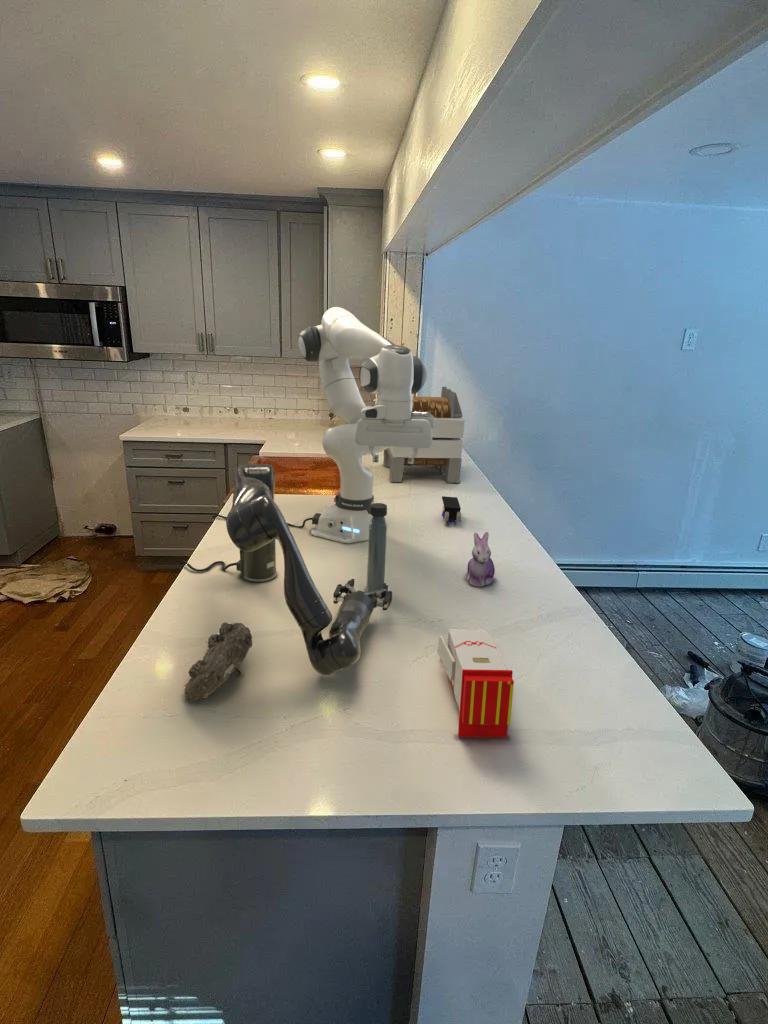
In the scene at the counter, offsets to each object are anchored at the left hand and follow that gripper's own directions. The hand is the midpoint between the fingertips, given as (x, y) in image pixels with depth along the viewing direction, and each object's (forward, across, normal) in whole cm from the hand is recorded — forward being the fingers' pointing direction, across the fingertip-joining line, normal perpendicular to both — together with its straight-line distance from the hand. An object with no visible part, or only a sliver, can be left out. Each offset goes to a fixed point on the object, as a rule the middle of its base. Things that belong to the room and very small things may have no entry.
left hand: (368, 583), depth 148 cm
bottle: (+9, 0, +7) cm, 11 cm away
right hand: (+14, -2, -29) cm, 33 cm away
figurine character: (+72, -16, +7) cm, 74 cm away
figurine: (+24, -29, +7) cm, 38 cm away
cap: (+9, 0, -18) cm, 21 cm away
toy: (-29, -28, +7) cm, 41 cm away
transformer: (+134, +4, +7) cm, 134 cm away
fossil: (-36, +24, +7) cm, 44 cm away
